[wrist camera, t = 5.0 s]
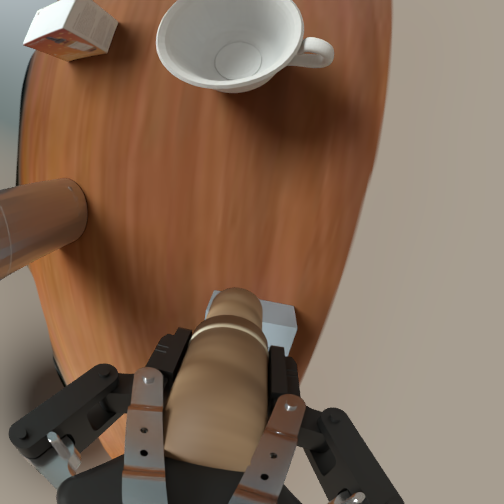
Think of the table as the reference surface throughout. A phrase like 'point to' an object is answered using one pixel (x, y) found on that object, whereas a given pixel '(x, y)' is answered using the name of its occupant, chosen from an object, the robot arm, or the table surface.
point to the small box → (71, 30)
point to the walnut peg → (221, 387)
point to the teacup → (236, 42)
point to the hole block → (275, 323)
